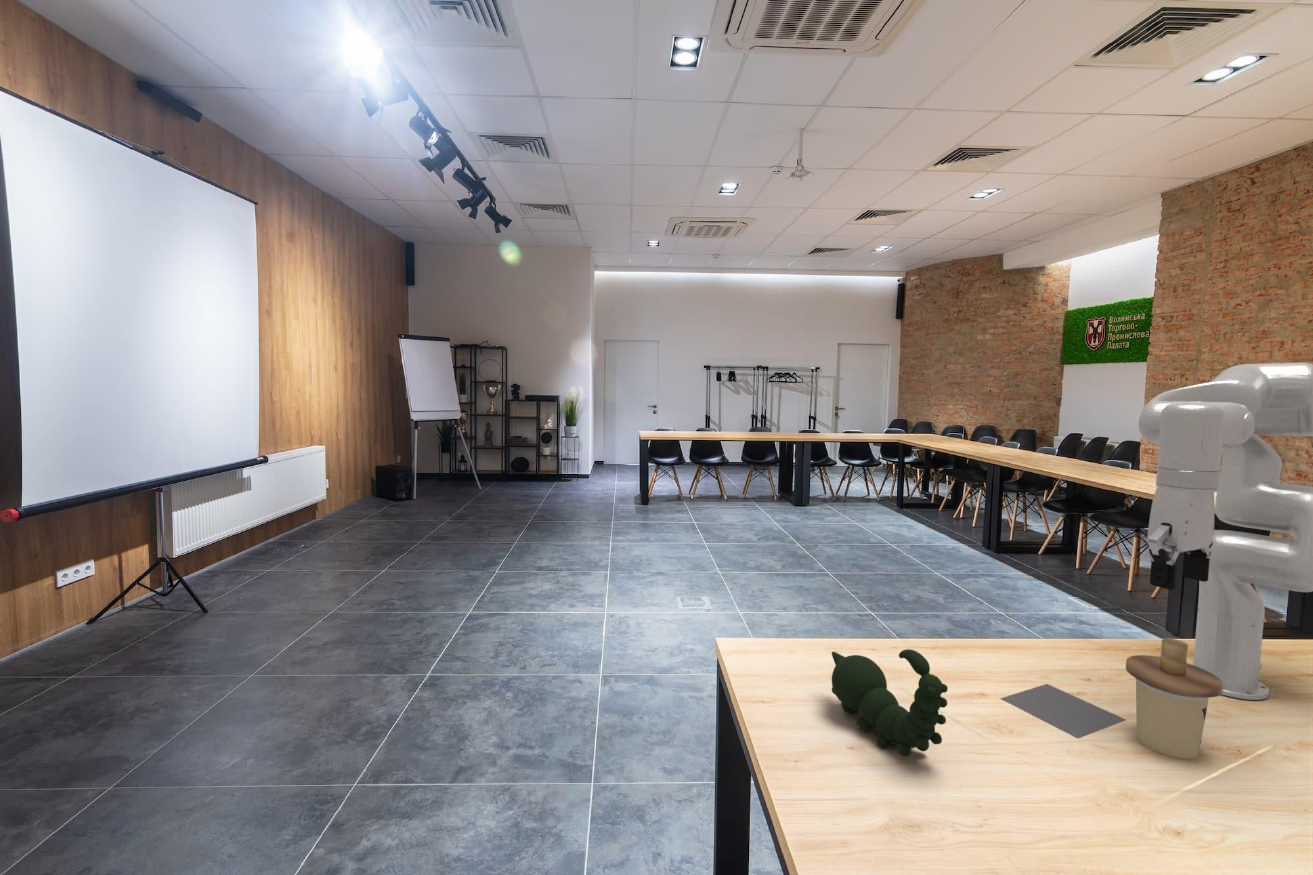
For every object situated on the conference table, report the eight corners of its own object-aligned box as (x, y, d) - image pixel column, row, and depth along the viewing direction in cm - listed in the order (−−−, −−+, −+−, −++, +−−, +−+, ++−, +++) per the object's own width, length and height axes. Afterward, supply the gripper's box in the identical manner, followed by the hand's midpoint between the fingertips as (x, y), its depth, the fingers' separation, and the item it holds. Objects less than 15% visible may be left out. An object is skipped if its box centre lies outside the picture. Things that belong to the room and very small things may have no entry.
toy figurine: (951, 773, 93) (848, 686, 116) (966, 665, 90) (856, 597, 113) (906, 788, 90) (808, 695, 113) (919, 675, 87) (816, 603, 110)
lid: (1149, 656, 104) (1152, 623, 104) (1237, 688, 94) (1241, 650, 93) (1110, 669, 100) (1112, 634, 99) (1197, 704, 89) (1201, 664, 88)
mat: (1046, 686, 117) (1047, 683, 117) (1126, 722, 105) (1126, 719, 105) (1000, 701, 112) (1000, 698, 112) (1077, 741, 99) (1077, 738, 99)
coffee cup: (1220, 768, 92) (1226, 695, 91) (1152, 761, 94) (1157, 689, 93) (1180, 734, 101) (1185, 668, 100) (1118, 728, 103) (1123, 662, 102)
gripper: (1187, 473, 101) (1179, 570, 102) (1129, 480, 94) (1122, 583, 95) (1244, 479, 94) (1235, 583, 96) (1186, 487, 87) (1178, 598, 88)
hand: (1179, 583), depth 95 cm, fingers open, 9 cm apart
